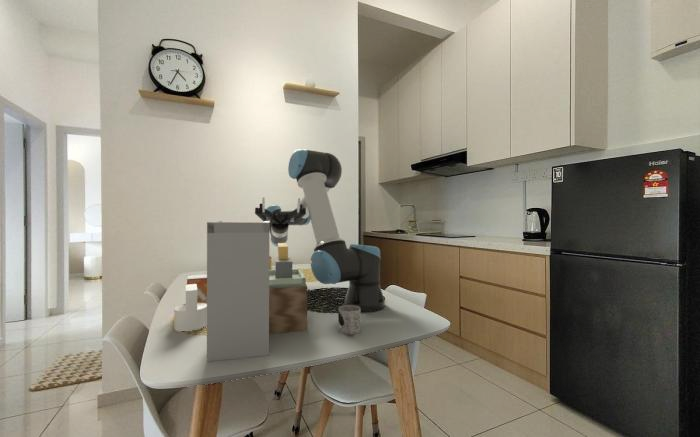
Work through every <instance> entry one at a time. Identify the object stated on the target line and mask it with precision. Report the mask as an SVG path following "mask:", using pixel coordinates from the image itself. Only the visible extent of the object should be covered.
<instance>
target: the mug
mask: <svg viewBox="0 0 700 437" xmlns="http://www.w3.org/2000/svg"><path fill="white" fill-rule="evenodd" d="M337 312H338V315H337V317H338V318H337V320H338V324H337V325H338V326H337V329H338V330H337V331H338V333H340V334H343V335H356V334H359V333H360V332H361V318H362V317H361V314H362V313H361V312H362V311H361V308H360V307H359V306H355V305H345V304H344V305H340V306H339V307H338V311H337Z"/></svg>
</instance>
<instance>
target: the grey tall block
mask: <svg viewBox="0 0 700 437" xmlns="http://www.w3.org/2000/svg"><path fill="white" fill-rule="evenodd" d="M269 270H270V221H264V222H263V221H259V222H257V221H253V222H252V221H251V222H250V221H240V222H239V221H222V220H221V221H220V220H214V221H208V222H207V221H206V274H207V326H206V362H208V363H209V362H214V361H215V362H216V361H225V360H235V359H246V358H257V357H264V356H269V354H270V334H269Z"/></svg>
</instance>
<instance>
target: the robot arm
mask: <svg viewBox="0 0 700 437" xmlns="http://www.w3.org/2000/svg"><path fill="white" fill-rule="evenodd" d="M287 167H288V169H287V170H288V171H287V172H288V176H289V178H291V179H294V180H296V183H297V186H298V187H299V188H300V189H302V190H303V195H304V196H303V197H302V199H301V197H299V198H297V203H296V204H297V205H296V207H295V208H294V210H289V209H287V210H284V209H282V208H281V206H279V205H277V204H273V205H270V206H268V207H266V206H265V204H266V203H265V202H266V201H265V199H266V198H265V197H262V200H261V201H262V203H259V206H258V207H255V208H254V214H255V215H256V216H257V217H258V218H259V219H260V220H261V221H262V222H264V221H270V232H269V235H270V241H271V244H272V245H273V246H275V247H277V248H278V243H287V241H288V236H289V235H288V234H289V226H307V225H309V224H310V222H311V226H312V230H313V235H314V239H315V242H316V245H315V247H314V248H313V252H312V254H311V257H310V269H311V272H312V274H313V276H314V278H315V280H317V281H318V282H319V283H320V284H323V285H330V284H331V285H336V284H338V283H344V282H349V286H348V287H347V288H348V289H347V291H346V293H345V298H344V305H355V306H359V307H360V308H361V312H365V313H366V312H367V313H368V312H375V311H376V310H377V311H380V309H381V310H382V308H383V309H384V308H385V297H384V295H383V292H382V288H381V259H382V258H381V249H380V248H379V247H377V246H375V245H374V246H373V245H365V244H356V243H351V244H349V247H348V248H347V244H346V241H345V240H344V239H343V238H341V237H340V235H339V231H338V226H337V223H336V219H335V216H334V212H333V209H332V205H331V202H330V198H329V194H328V192H329V191H330V189H333V188H335V187H336V186H337V185H338V183H339V181H340V180H341V177H342V173H343V172H342V171H343V170H342V168H343V167H342V164H341V162H340V160H339V159H338V158H337V157H336V155H334V154H332V153H331V152H322V151H315V150H309V149H305V148H304V149H303V148H302V149H301V148H298V149H297V148H296V149H295V150H294V151H293V153H292V154H291V155H290V158H289V162H288V166H287ZM265 207H266V208H265ZM377 311H376V312H377Z"/></svg>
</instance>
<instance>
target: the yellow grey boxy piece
mask: <svg viewBox="0 0 700 437" xmlns="http://www.w3.org/2000/svg"><path fill="white" fill-rule="evenodd" d="M287 243H288V242H286V243H278V247H277V255H278V257H275V258H274V265H275V266H274V270H275V279H280V278H292V269H293V260H292V257H289V245H288V244H287Z"/></svg>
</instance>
